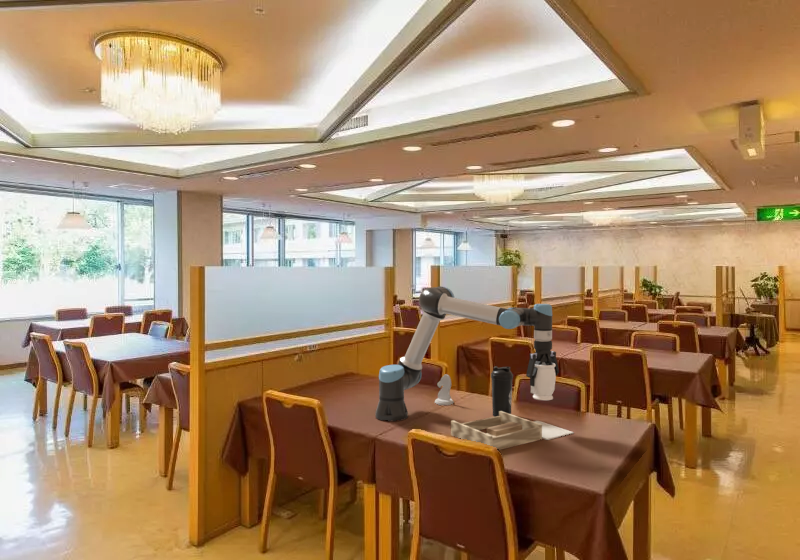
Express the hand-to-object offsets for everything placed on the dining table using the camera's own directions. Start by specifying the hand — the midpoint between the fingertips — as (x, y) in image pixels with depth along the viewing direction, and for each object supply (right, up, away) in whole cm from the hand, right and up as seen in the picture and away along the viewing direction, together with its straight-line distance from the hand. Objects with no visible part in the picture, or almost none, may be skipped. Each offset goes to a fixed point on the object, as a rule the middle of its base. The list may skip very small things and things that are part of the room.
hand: (542, 391), depth 225 cm
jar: (0, -3, 0) cm, 3 cm away
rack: (-22, -17, -8) cm, 29 cm away
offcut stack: (-19, -17, -13) cm, 29 cm away
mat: (0, -17, 0) cm, 17 cm away
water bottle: (-13, -16, +23) cm, 31 cm away
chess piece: (-38, -16, +46) cm, 62 cm away
